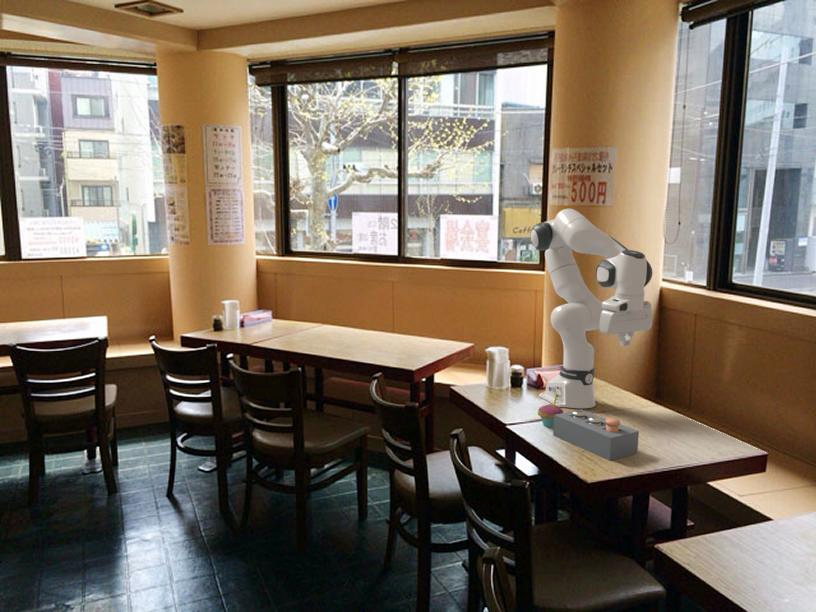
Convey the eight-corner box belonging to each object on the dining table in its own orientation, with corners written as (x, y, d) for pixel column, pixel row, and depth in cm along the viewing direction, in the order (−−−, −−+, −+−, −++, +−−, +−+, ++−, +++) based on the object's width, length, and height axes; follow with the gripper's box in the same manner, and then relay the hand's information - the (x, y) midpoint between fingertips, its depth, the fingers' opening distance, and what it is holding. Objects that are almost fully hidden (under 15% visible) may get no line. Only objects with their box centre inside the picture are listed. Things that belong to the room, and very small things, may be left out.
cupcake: (555, 420, 225) (557, 387, 223) (567, 428, 217) (569, 394, 215) (533, 422, 223) (534, 388, 221) (544, 430, 215) (545, 395, 213)
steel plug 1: (568, 434, 210) (569, 411, 208) (577, 432, 212) (579, 409, 210) (577, 438, 206) (579, 415, 205) (587, 436, 208) (588, 413, 207)
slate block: (553, 435, 210) (554, 414, 209) (579, 429, 216) (581, 409, 215) (609, 460, 190) (610, 437, 189) (637, 453, 196) (638, 431, 195)
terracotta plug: (601, 444, 197) (602, 419, 196) (610, 441, 199) (612, 417, 198) (611, 448, 194) (613, 423, 193) (621, 446, 196) (622, 421, 195)
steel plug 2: (584, 441, 204) (585, 417, 202) (593, 439, 206) (595, 415, 204) (594, 445, 200) (595, 421, 199) (603, 443, 202) (605, 419, 201)
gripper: (643, 298, 209) (639, 340, 211) (597, 303, 199) (594, 346, 201) (659, 302, 203) (655, 344, 206) (613, 306, 193) (609, 351, 196)
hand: (624, 345), depth 204 cm, fingers closed
